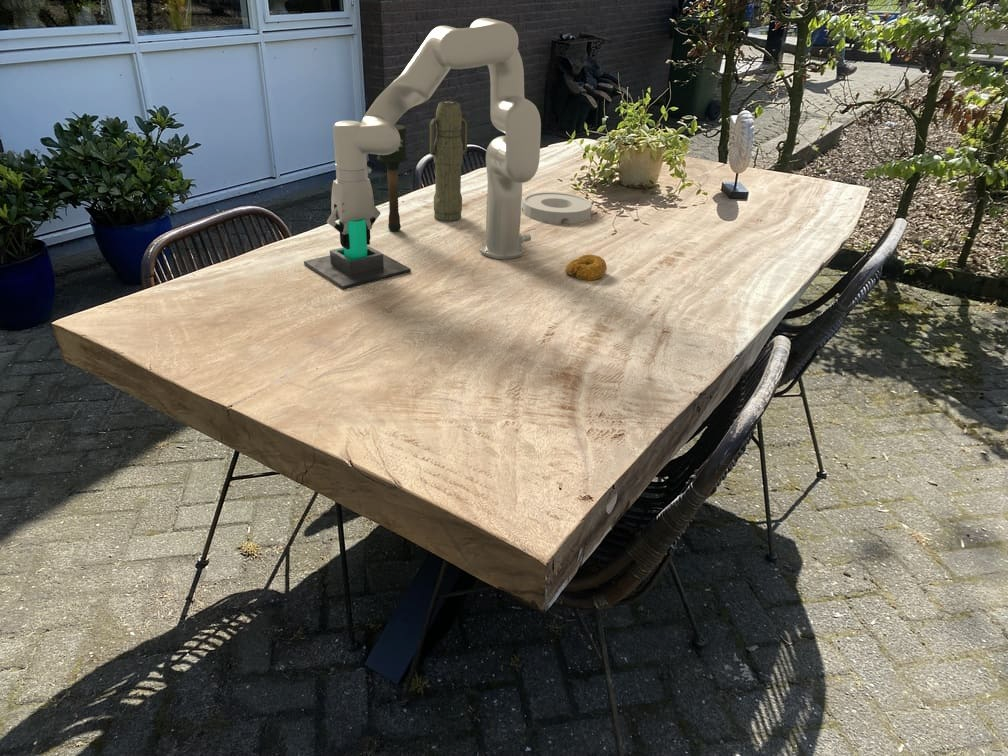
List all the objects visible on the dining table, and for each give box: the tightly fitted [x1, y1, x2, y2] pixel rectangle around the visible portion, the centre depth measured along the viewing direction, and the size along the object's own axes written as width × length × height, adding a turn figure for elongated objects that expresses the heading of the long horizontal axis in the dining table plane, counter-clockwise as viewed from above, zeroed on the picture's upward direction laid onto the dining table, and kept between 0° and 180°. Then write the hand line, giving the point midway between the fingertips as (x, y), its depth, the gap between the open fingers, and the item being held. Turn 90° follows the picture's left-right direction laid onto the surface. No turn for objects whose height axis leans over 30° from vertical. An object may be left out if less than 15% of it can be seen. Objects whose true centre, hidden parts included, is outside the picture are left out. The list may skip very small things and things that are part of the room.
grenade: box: [376, 124, 409, 233], centre depth 204 cm, size 8×9×30 cm
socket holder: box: [303, 245, 412, 291], centre depth 184 cm, size 20×20×4 cm
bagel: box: [564, 254, 608, 282], centre depth 188 cm, size 10×11×5 cm
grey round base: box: [521, 191, 593, 224], centre depth 235 cm, size 23×23×4 cm
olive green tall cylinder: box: [428, 100, 468, 223], centre depth 216 cm, size 9×12×35 cm
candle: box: [342, 219, 368, 260], centre depth 180 cm, size 6×6×12 cm
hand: (355, 244), depth 181 cm, fingers closed on candle, 5 cm apart
